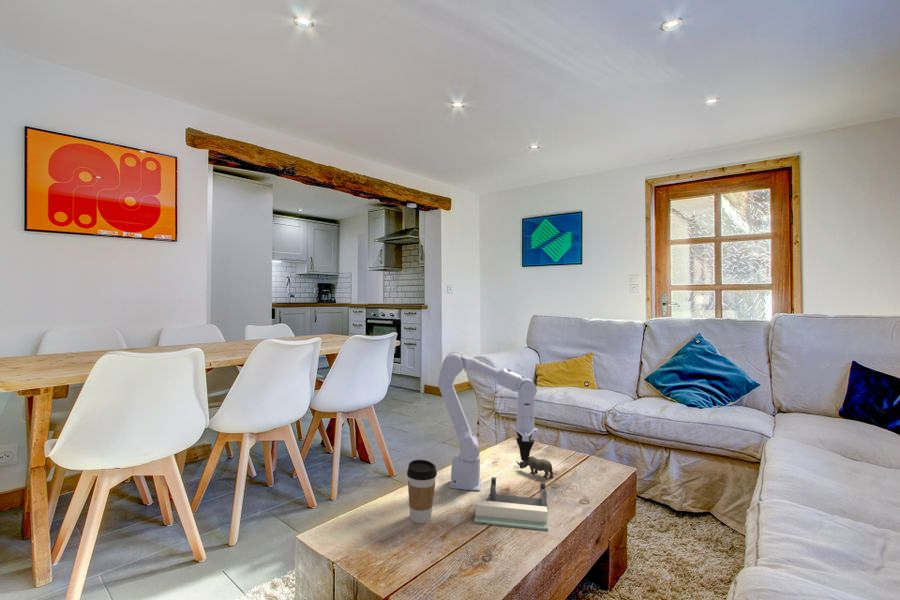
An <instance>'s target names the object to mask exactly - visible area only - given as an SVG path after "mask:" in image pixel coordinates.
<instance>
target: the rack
mask: <svg viewBox="0 0 900 600" xmlns="http://www.w3.org/2000/svg"><path fill="white" fill-rule="evenodd" d="M539 482H540V483H539V498H537V497H536V498H535V497H528V496H517V495H508V494H507V495H505V494H499V493H497V492H496V491H497V477H494V476H491V481H490V483H491V484H490V488H489V490H490V492H489V493H488V500H487V501H494V502H504V503H514V504H524V505H534V506H544V507H547V510H548V511H549V506H548V501H547V494H548V491H547V489H546V482H545V481H539ZM496 493H497V494H496Z"/></svg>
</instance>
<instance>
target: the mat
mask: <svg viewBox="0 0 900 600" xmlns="http://www.w3.org/2000/svg"><path fill="white" fill-rule="evenodd" d="M474 522H475V523H474ZM473 523H474V524H481V523H486V524H485V525H491V526H492V525H493V526H501V527H502V526H503V527H510V528H511V527H512V528H520V529H529V530H536V531H537V530H540V531H547V532H548V531H549V525H548V522H547V523H545V522H536V521H526V520H516V519H507V518H497V517H488V516H478V515H475V514H474V521H473Z"/></svg>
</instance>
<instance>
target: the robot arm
mask: <svg viewBox="0 0 900 600" xmlns="http://www.w3.org/2000/svg"><path fill="white" fill-rule="evenodd" d="M462 371H464V373H466V372H471V371H472V372H473V371H474V372H476V373H479V374H482V375H484V376H487V377H489V378H491V379H494V380H495V382H496V385H498V386H501V387H502V388H505V389H508V390H510V391H512V392H516V393H517V392H518V393H517V402H516V427H515V432H516V434H517V437H516V442H517V445H518V449H519V455H520V461H521V462H523V461H528V459H529V457H530V454H531V450H532V447H533V445H534V444H535V439H531V438H532V435H534V433H538V432H539V431H538V428H537V427H535V414H536V413H535V411H536V409H535V408H536V407H535V406H536V402H535V399H536V394H537V393H538V389H537V386H536V384H535V383H534V381H533V380H532V379H530V378H529V377H528V376H525V375H524V374H521V375H520V374H518V373H515V372H513V371H512V368H509V367H507V368H504V367H503V368H501V369H497V368H495V367H493V366H491V365H489V364H487V363H485V362H482V361H480V360H478V359H476V358H475V357H471V355H470V356H469V355H466V354H461V353H459V352H457V351H452V352H450V353H448V354H447V355H446V357H445V358H444V360H443V361H442V365H441V367H440V371H439V376H438V379H437V386H438V389H439V391H440V393H441V397H442V399H443V401H444V404H445V407H446V409H447V412H448V415H449V417H450V420H451V422H452V425H453V427H454V431H455V432H456V436H457V441H458V444H459V454H458V456H453V457H452V459H451V470H450V471H451V472H450V489H457V490H467V491H478V492H479V491H481V485H482V479H480V474H481V473H480V472H481V456H480V448H479V443H480V442H479V439H478V436H476V435H475V434H474V433H473V430H472V429H471V427H470V425H469V422H468V420H467V417H466V415H465V413H464V410H463V407H462V404H461V401H460V399H459V396H458V394H457V392H456V389H455V386H454V382H455V380H456V378H457V376H459V374H461V372H462Z"/></svg>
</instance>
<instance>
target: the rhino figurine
mask: <svg viewBox="0 0 900 600" xmlns="http://www.w3.org/2000/svg"><path fill="white" fill-rule="evenodd" d="M516 464H517V465H518V466H519V468H520V470H521V469H525V468H527V467H529V469H530V473H529V475H530V474H532V475H531V476H533V474H534V475H535V474H539V472H544V475H543V476H542V478H543V479H544V478H547V479H548V478H550V477H551V479H553V478H554V471H553V468H554V467H553V465H552V462H550V461H549V460H547V459H543V458H541V459H538V458H537V457H535V456H532V455H531V456H530V455H529V459H528V461H521V460H519V462H518V461H517V460H516ZM549 474H550V475H549ZM548 476H549V477H548Z"/></svg>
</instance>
